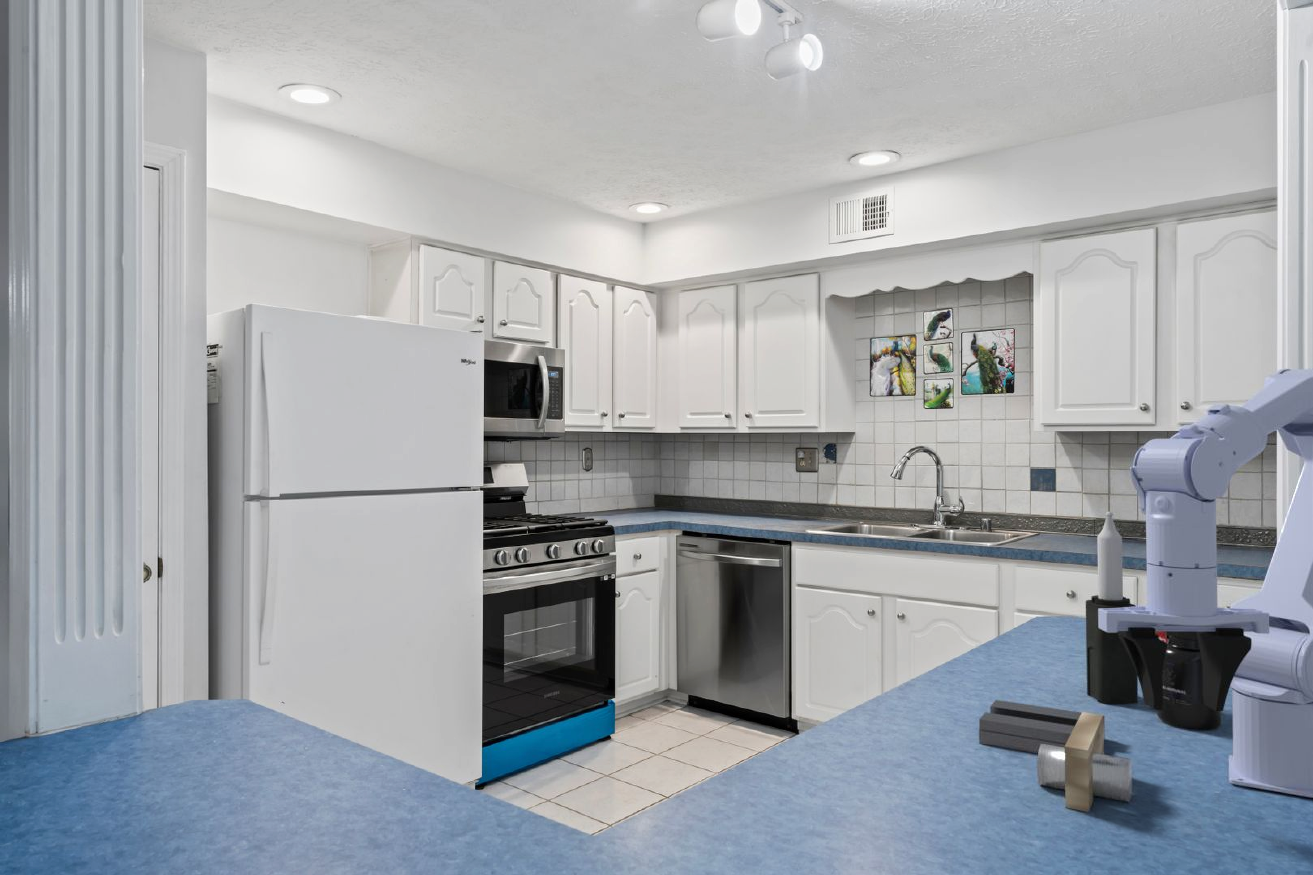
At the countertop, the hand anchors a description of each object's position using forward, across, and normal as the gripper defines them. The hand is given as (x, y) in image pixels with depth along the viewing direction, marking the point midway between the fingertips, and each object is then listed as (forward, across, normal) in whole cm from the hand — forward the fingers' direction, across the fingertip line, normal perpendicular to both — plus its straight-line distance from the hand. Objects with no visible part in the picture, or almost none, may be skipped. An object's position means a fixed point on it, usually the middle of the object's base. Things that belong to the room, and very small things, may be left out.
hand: (1183, 707), depth 82 cm
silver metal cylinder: (+9, +8, -4) cm, 13 cm away
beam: (+9, +8, -4) cm, 13 cm away
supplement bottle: (+10, -13, -25) cm, 30 cm away
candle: (+10, -8, -34) cm, 37 cm away
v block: (+9, +7, -17) cm, 21 cm away
